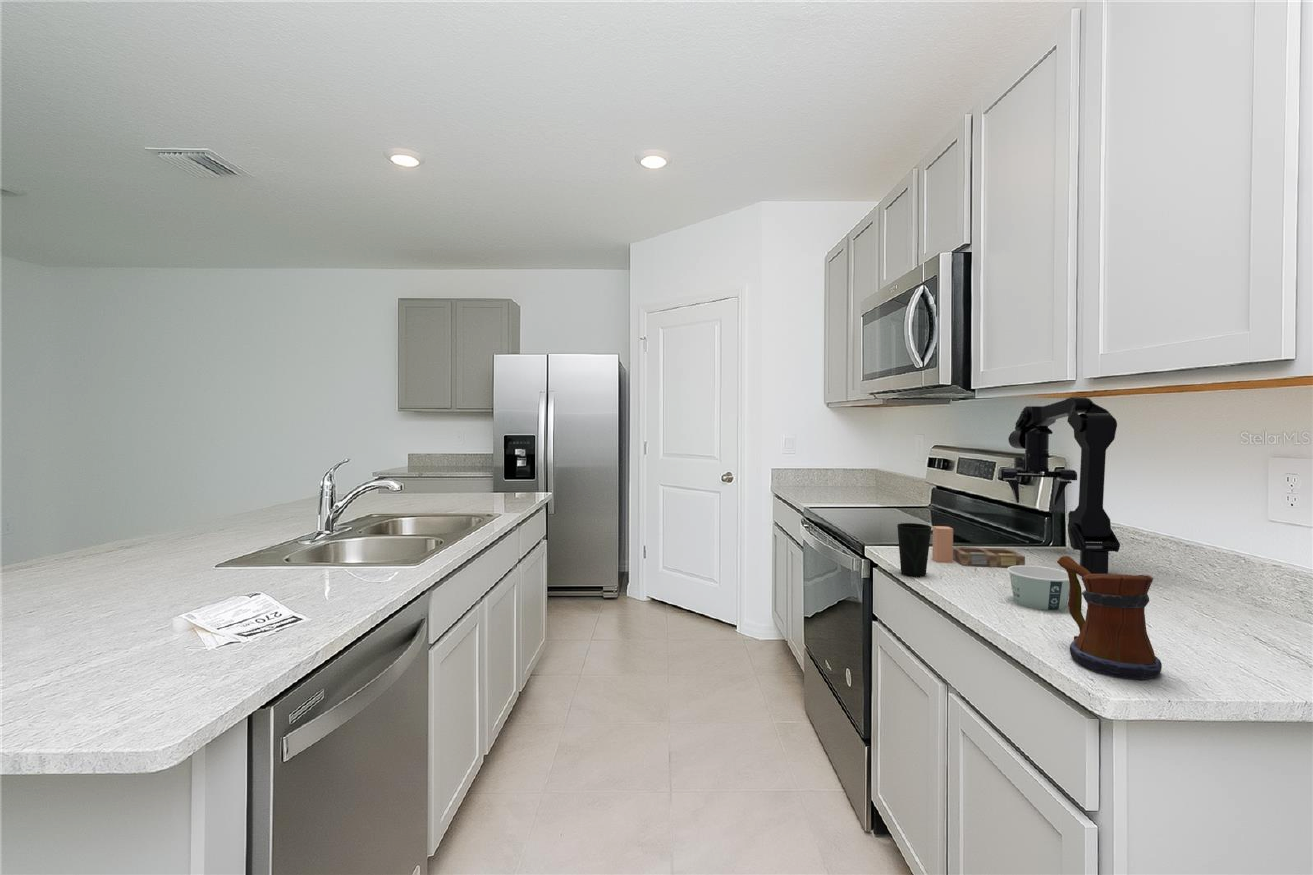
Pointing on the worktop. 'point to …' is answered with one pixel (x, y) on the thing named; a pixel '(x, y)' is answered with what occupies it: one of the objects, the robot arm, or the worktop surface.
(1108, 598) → the mug
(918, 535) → the cup
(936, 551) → the tan rectangular block
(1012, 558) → the socket block
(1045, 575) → the food container
